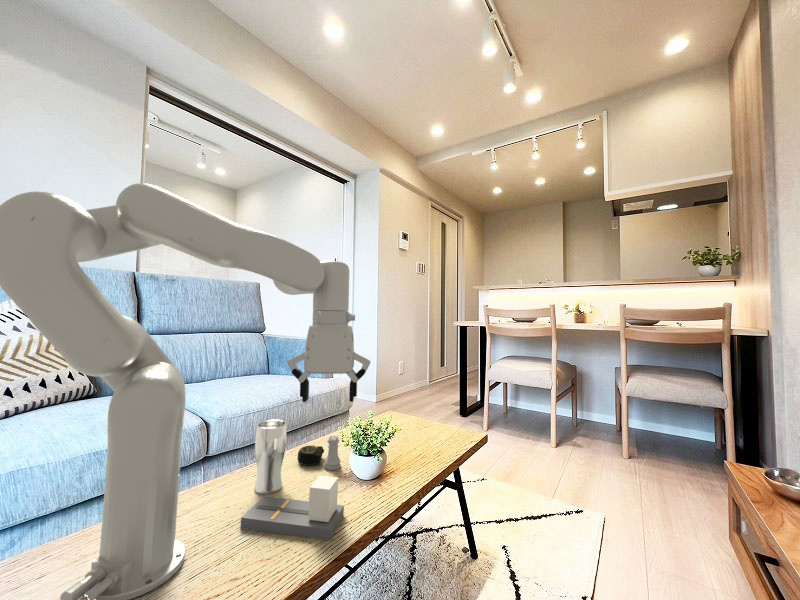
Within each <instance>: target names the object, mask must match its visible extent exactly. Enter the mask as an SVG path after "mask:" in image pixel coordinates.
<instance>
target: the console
mask: <svg viewBox="0 0 800 600" xmlns="http://www.w3.org/2000/svg"><path fill="white" fill-rule="evenodd" d="M344 511H345V506H344V505H341V504H337V508H336V510H335V512H334V513H333V515H332V517H331V518H330V520H329V522H323V521H315V520H308V514H309V500H301V499H300V500H299V499H293V498H292V499H291V498H284V497H275V496H268V495H267V496H266V495H263V496H262V497H261V498H259V500H258V501H257V502H255V504H254V505H253V506H252V507H250V509H248V510H247V511H246V512H245V513H244V514H243V515H242V516H241V517H240V529H241V530H242V529H243V530H250V531H257V532H258V531H259V532H264V533H265V532H266V533H272V534H280V535H285V536H294V537H301V538H309V539H316V540H324V541H331V540H332V537H333V536H334V534H335V532H336V530H337V529H338V527H339V525H340V523H341V521H342V519H343V517H344V513H345V512H344Z"/></svg>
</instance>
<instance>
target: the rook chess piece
mask: <svg viewBox="0 0 800 600" xmlns="http://www.w3.org/2000/svg"><path fill="white" fill-rule="evenodd" d="M339 442H340V439H339V436H338V435H337V436H336V435H333V436H332V435H330V436H329V437H328V440H327V444H328V446H327V448H328V452H327V453H328V454H327V456H326V459H325V460H324V465H323V466H324V469H326V470H327V471H336V470H338V469H340V468H341V459H340V457H339V453H338V452H339V450H338V449H339Z"/></svg>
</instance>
